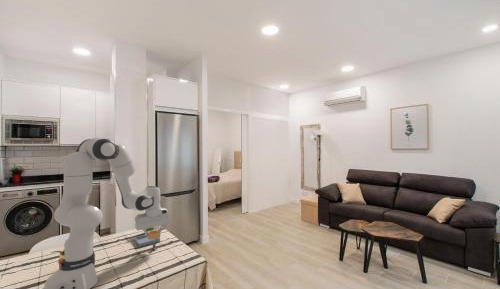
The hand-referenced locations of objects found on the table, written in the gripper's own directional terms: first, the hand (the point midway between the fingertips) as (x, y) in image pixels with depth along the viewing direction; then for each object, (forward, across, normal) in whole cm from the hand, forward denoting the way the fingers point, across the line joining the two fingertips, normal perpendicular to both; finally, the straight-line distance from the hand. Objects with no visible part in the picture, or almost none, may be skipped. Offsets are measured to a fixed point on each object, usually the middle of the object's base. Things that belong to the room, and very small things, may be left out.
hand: (153, 233), depth 144 cm
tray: (+10, 0, +16) cm, 19 cm away
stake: (+10, +1, 0) cm, 10 cm away
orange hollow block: (+2, 0, 0) cm, 2 cm away
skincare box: (+10, +8, +31) cm, 34 cm away
